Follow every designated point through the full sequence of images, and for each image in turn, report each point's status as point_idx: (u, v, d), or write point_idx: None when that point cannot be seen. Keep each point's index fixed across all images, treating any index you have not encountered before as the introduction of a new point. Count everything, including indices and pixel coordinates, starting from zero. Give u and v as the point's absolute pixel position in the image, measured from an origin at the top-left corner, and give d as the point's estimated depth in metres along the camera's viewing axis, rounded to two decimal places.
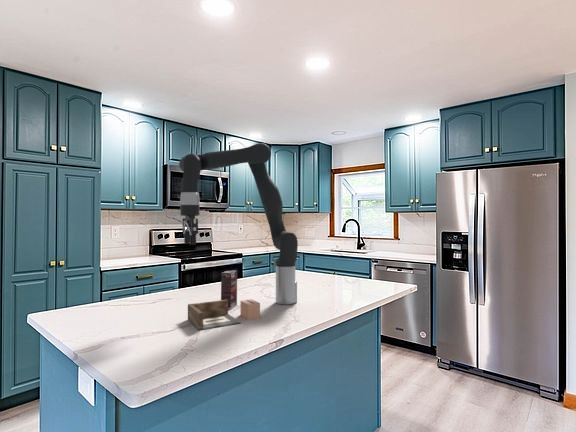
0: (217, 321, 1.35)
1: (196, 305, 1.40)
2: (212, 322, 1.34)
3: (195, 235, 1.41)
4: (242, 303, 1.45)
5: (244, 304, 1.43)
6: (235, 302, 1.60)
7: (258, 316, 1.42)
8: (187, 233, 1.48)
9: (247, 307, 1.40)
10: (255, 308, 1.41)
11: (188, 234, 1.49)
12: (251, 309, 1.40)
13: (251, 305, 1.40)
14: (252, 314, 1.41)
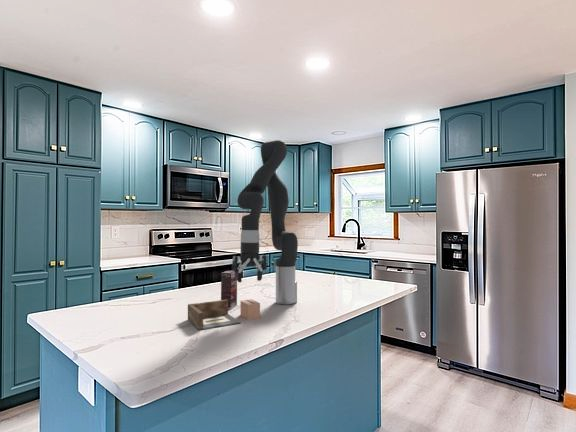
0: (217, 321, 1.35)
1: (196, 305, 1.40)
2: (212, 322, 1.34)
3: None
4: (242, 303, 1.45)
5: (244, 304, 1.43)
6: (235, 302, 1.60)
7: (258, 316, 1.42)
8: None
9: (247, 307, 1.40)
10: (255, 308, 1.41)
11: None
12: (251, 309, 1.40)
13: (251, 305, 1.40)
14: (252, 314, 1.41)
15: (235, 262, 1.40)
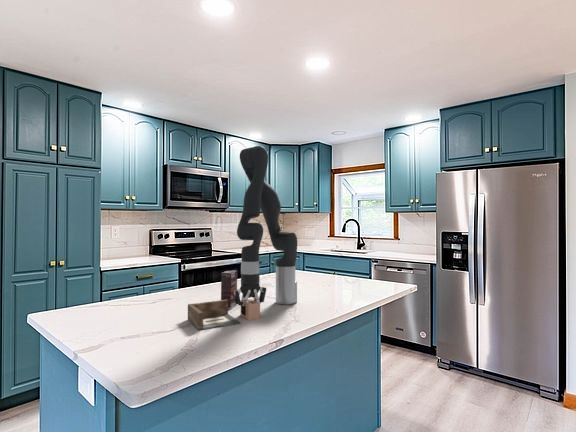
0: (217, 321, 1.35)
1: (196, 305, 1.40)
2: (212, 322, 1.34)
3: None
4: None
5: None
6: (235, 302, 1.60)
7: (258, 316, 1.42)
8: None
9: (247, 306, 1.40)
10: (255, 308, 1.41)
11: None
12: (251, 309, 1.40)
13: (251, 305, 1.40)
14: (252, 314, 1.41)
15: (237, 296, 1.40)
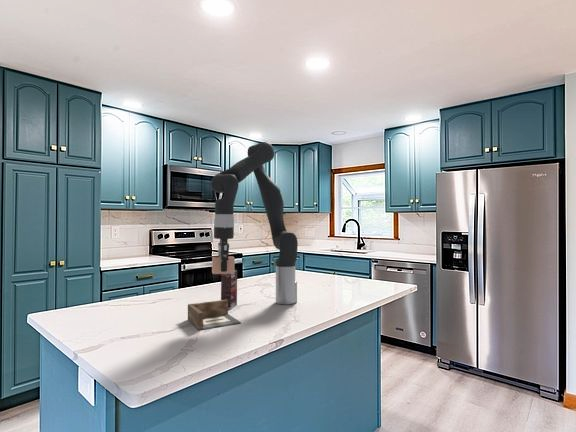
0: (217, 321, 1.35)
1: (196, 305, 1.40)
2: (212, 322, 1.34)
3: None
4: (218, 260, 1.35)
5: None
6: (235, 302, 1.60)
7: None
8: None
9: (232, 260, 1.36)
10: None
11: None
12: None
13: None
14: None
15: None
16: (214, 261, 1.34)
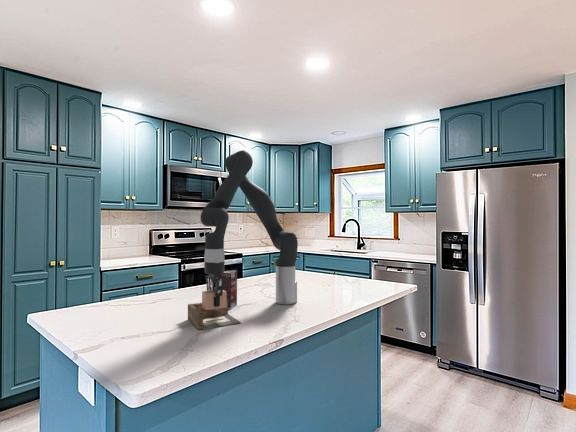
0: (217, 321, 1.35)
1: (196, 305, 1.40)
2: (212, 322, 1.34)
3: None
4: (211, 295, 1.33)
5: None
6: (235, 302, 1.60)
7: None
8: None
9: (224, 294, 1.36)
10: None
11: None
12: None
13: None
14: None
15: (222, 286, 1.32)
16: (207, 297, 1.33)
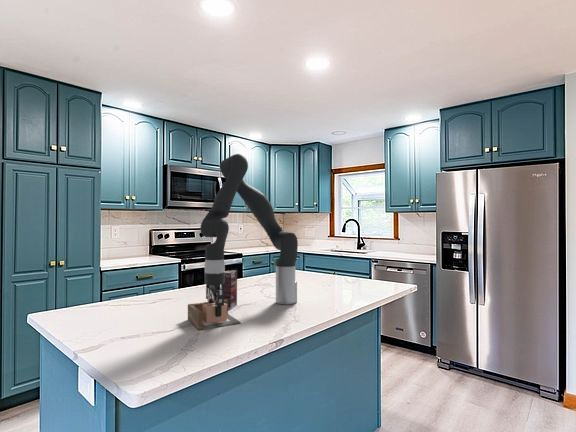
0: None
1: (196, 305, 1.40)
2: None
3: None
4: (212, 308, 1.33)
5: None
6: (235, 302, 1.60)
7: None
8: None
9: (225, 307, 1.36)
10: None
11: None
12: None
13: None
14: None
15: (223, 295, 1.31)
16: (207, 310, 1.33)
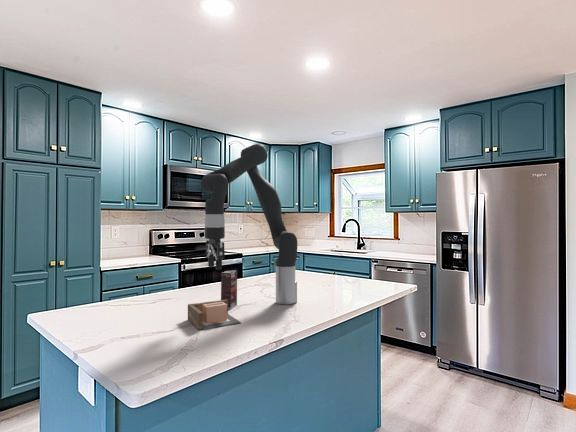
0: None
1: (196, 305, 1.40)
2: None
3: None
4: (212, 308, 1.33)
5: (217, 307, 1.34)
6: (235, 302, 1.60)
7: None
8: None
9: (225, 307, 1.36)
10: None
11: None
12: None
13: None
14: None
15: (223, 248, 1.32)
16: (207, 310, 1.32)
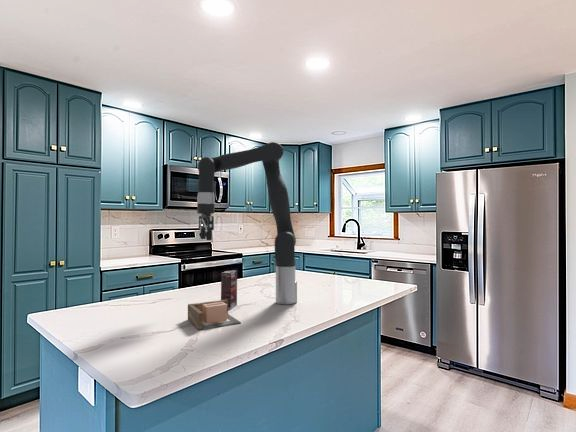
0: None
1: (196, 305, 1.40)
2: None
3: (201, 230, 1.63)
4: (212, 308, 1.33)
5: (217, 307, 1.34)
6: (235, 302, 1.60)
7: None
8: None
9: (225, 307, 1.36)
10: None
11: None
12: None
13: None
14: None
15: None
16: (207, 310, 1.32)
